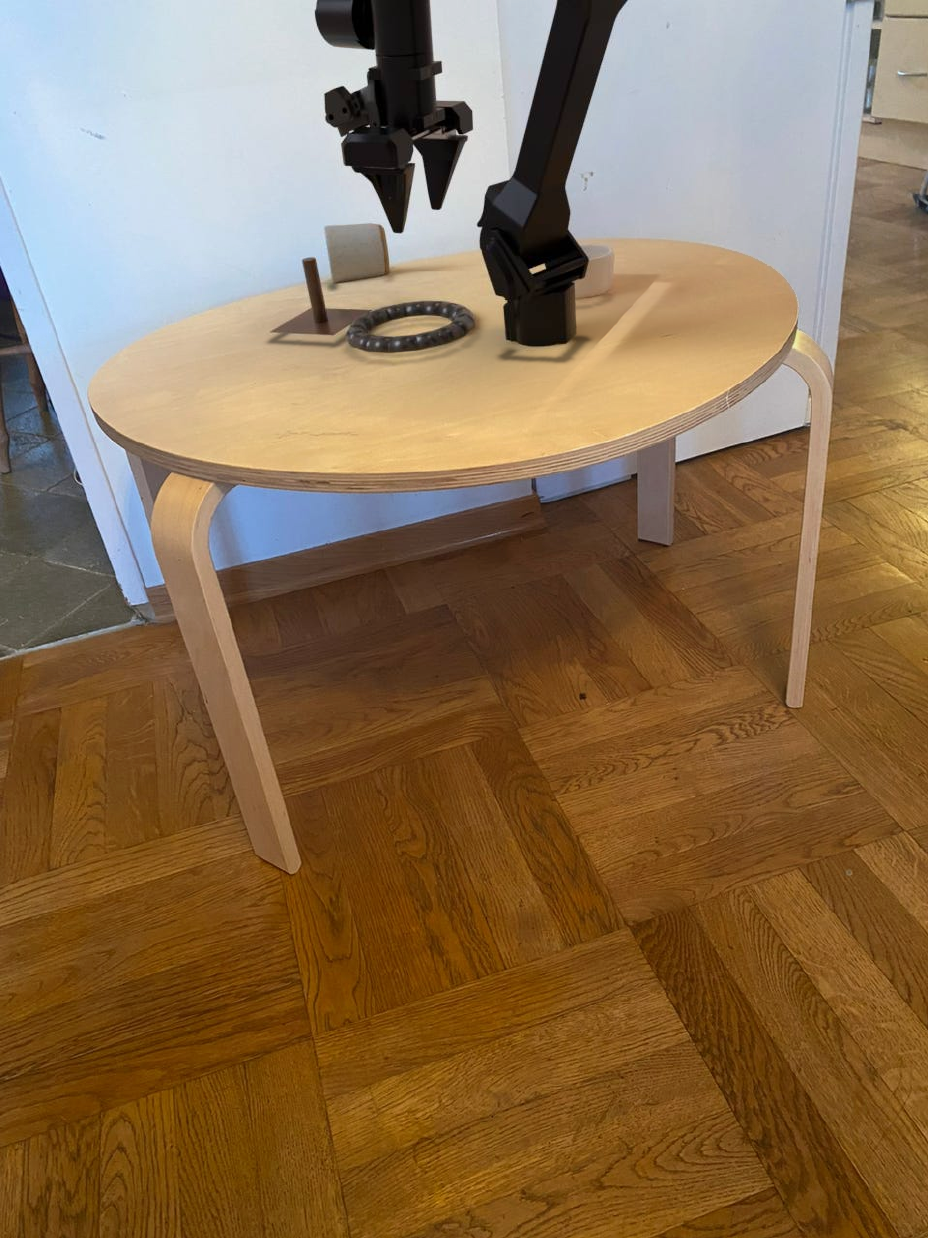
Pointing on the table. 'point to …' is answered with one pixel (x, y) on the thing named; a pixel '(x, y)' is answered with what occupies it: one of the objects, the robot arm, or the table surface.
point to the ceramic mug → (356, 251)
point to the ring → (387, 344)
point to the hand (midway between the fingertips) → (417, 220)
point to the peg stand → (318, 310)
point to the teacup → (596, 270)
